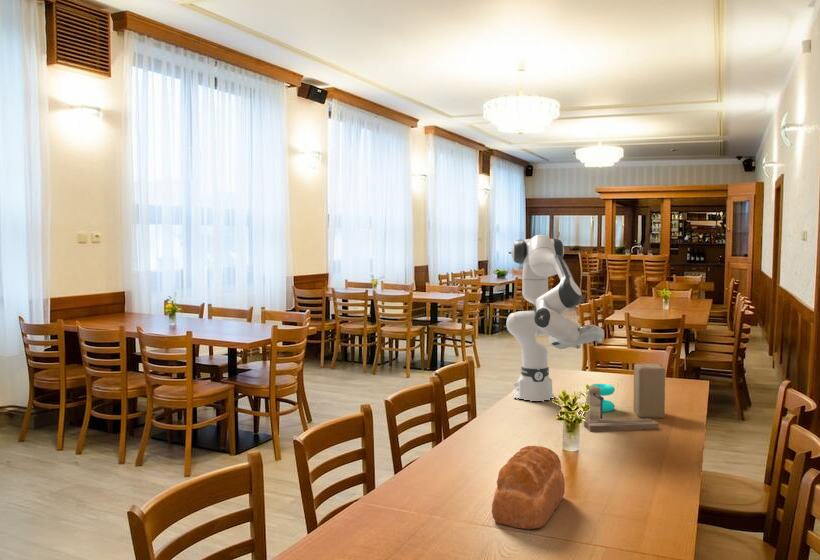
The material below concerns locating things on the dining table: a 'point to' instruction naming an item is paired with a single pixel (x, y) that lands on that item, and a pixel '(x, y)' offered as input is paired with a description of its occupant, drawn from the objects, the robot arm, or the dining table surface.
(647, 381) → the grey rectangular block
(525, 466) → the bread
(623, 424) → the board
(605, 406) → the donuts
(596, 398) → the gauge
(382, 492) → the dining table surface
